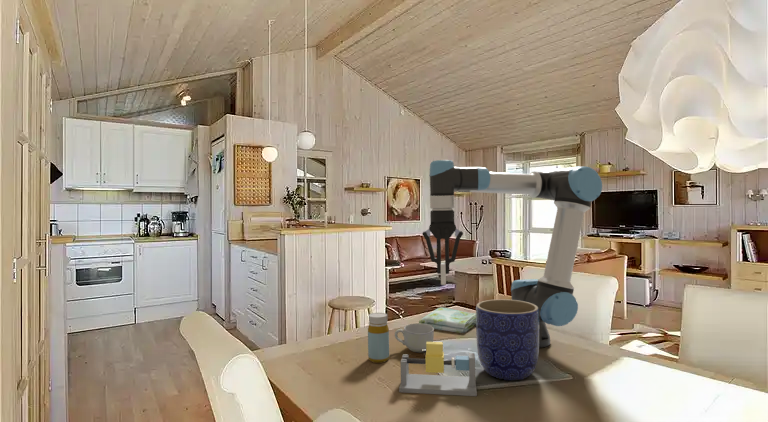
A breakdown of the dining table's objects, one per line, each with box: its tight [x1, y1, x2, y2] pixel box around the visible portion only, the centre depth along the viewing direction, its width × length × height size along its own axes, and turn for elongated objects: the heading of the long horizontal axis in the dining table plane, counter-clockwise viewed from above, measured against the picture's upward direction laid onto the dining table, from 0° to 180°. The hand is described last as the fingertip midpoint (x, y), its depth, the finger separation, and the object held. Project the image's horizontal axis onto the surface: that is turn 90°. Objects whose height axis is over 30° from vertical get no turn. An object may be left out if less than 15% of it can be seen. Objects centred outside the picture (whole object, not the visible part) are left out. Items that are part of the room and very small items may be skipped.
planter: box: [475, 298, 540, 381], centre depth 132 cm, size 18×18×21 cm
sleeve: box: [424, 341, 445, 374], centre depth 124 cm, size 5×4×8 cm
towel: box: [418, 307, 476, 334], centre depth 185 cm, size 18×21×5 cm
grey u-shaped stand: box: [398, 352, 478, 397], centre depth 124 cm, size 21×10×9 cm, turn 81°
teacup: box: [394, 322, 435, 353], centre depth 155 cm, size 14×11×8 cm
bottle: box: [367, 312, 390, 364], centre depth 146 cm, size 7×7×15 cm
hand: (443, 284), depth 138 cm, fingers closed
